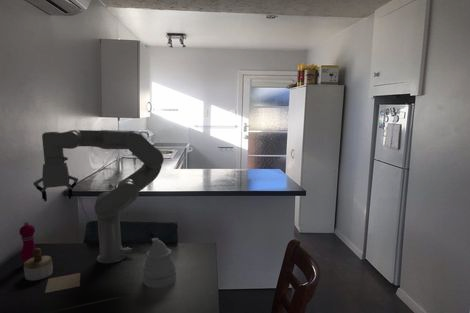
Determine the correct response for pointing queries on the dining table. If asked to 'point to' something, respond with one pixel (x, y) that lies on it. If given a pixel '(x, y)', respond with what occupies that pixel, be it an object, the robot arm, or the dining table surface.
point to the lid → (37, 260)
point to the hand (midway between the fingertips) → (58, 199)
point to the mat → (63, 282)
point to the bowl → (38, 272)
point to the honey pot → (159, 266)
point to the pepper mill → (27, 241)
